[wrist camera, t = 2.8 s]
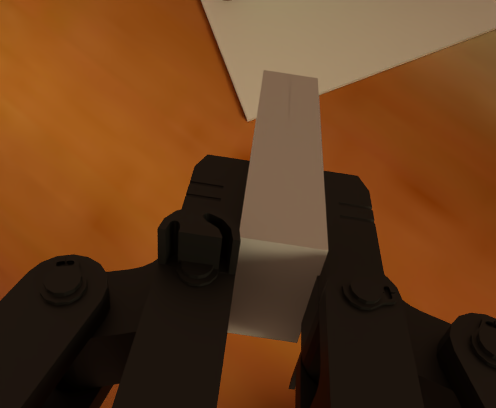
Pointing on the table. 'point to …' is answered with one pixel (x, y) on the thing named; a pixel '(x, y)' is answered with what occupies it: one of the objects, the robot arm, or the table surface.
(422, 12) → the card
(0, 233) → the table surface
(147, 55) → the table surface
